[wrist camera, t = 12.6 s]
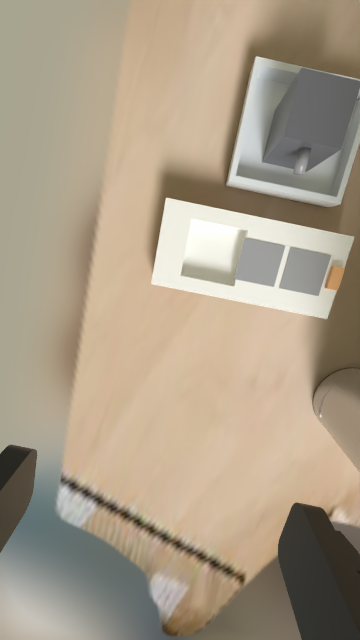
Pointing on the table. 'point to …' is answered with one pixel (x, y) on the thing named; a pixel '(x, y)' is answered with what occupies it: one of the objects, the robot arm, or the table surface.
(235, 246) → the power strip
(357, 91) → the block
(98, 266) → the table surface
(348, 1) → the table surface
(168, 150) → the table surface
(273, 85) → the tray
